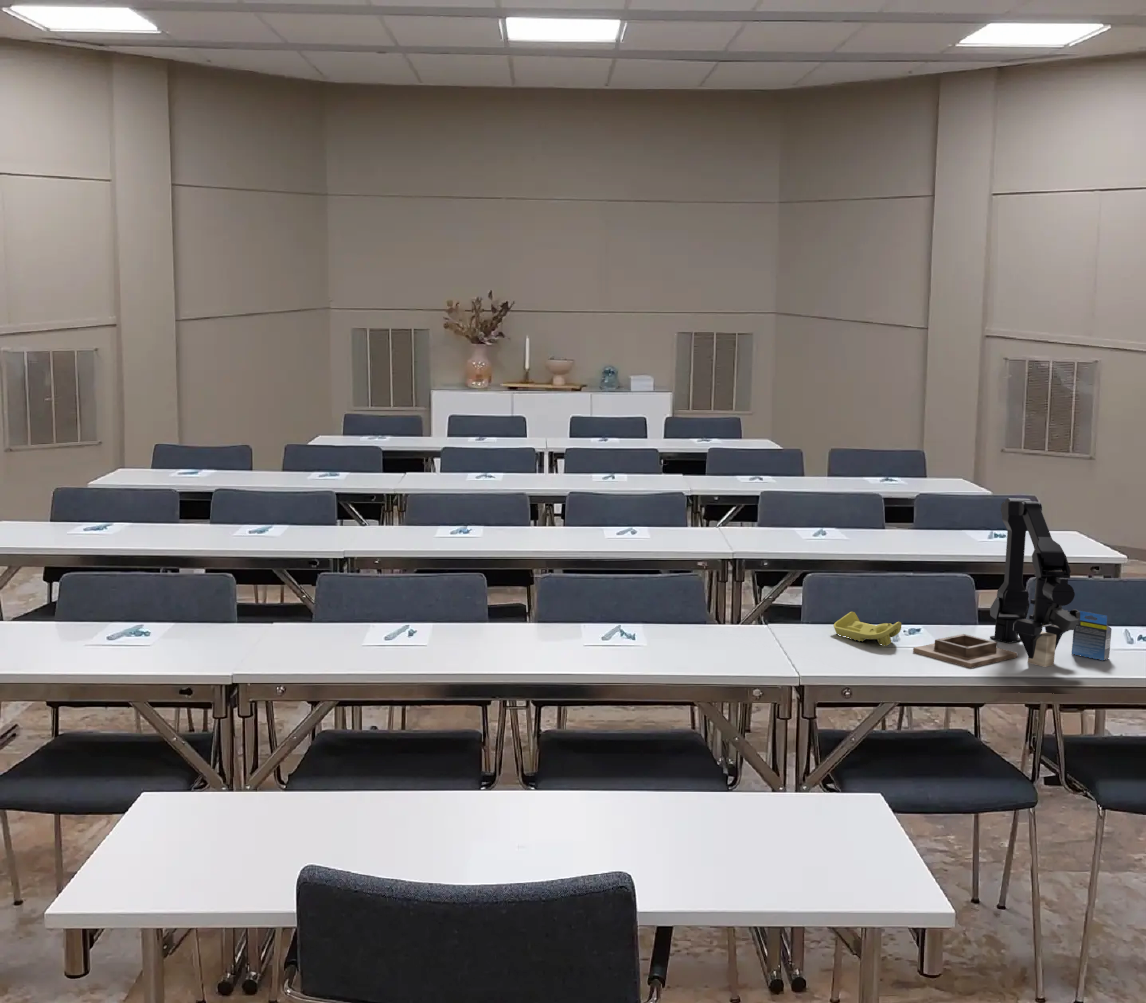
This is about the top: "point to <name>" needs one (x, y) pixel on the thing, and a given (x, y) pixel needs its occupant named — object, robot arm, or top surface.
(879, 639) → the plastic component
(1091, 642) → the blue retail box
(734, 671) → the top surface
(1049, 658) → the birch peg
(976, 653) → the holder board
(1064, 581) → the robot arm
